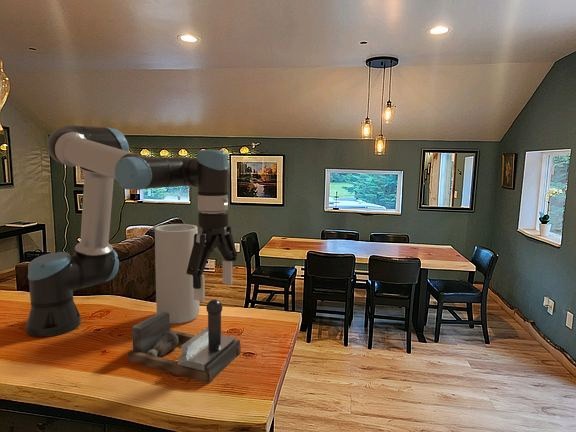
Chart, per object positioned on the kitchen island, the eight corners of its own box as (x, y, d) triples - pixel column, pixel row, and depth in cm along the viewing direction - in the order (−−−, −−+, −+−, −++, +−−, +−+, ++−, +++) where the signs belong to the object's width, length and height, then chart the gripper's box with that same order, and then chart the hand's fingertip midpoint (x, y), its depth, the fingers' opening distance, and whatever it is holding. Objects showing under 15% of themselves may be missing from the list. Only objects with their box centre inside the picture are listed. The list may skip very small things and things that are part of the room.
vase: (181, 305, 147) (179, 222, 142) (208, 315, 138) (207, 227, 133) (148, 317, 135) (144, 227, 130) (175, 329, 127) (172, 233, 122)
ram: (177, 372, 101) (175, 306, 98) (211, 345, 116) (210, 287, 113) (204, 380, 98) (204, 312, 95) (236, 351, 113) (236, 291, 110)
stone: (151, 367, 106) (174, 347, 107) (139, 351, 107) (161, 331, 107) (164, 358, 116) (184, 339, 116) (152, 343, 117) (173, 325, 117)
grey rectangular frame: (127, 361, 107) (126, 330, 106) (166, 336, 122) (165, 308, 120) (209, 383, 98) (209, 349, 96) (240, 353, 112) (240, 323, 111)
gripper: (197, 219, 87) (198, 310, 90) (249, 206, 110) (249, 279, 113) (169, 217, 90) (172, 305, 93) (225, 205, 112) (226, 276, 116)
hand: (214, 291), depth 103 cm, fingers open, 13 cm apart
